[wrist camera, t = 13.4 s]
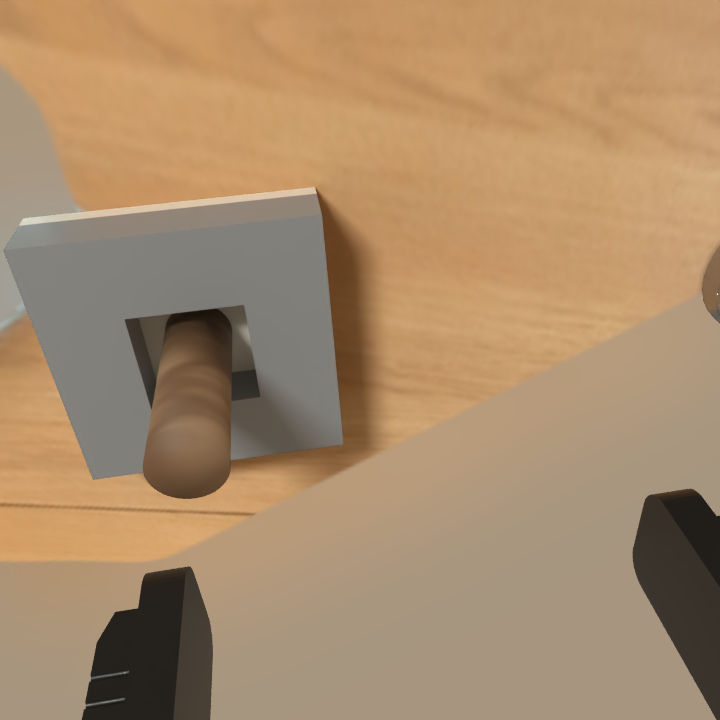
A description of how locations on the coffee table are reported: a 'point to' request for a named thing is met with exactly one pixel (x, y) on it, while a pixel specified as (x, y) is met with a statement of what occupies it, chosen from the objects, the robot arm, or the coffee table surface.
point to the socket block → (184, 294)
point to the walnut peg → (191, 407)
